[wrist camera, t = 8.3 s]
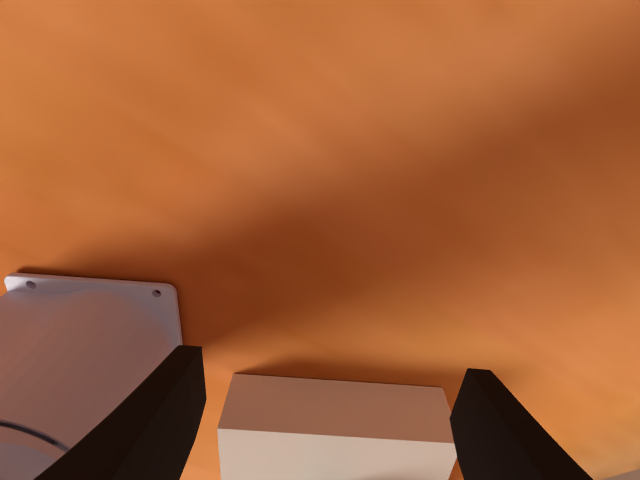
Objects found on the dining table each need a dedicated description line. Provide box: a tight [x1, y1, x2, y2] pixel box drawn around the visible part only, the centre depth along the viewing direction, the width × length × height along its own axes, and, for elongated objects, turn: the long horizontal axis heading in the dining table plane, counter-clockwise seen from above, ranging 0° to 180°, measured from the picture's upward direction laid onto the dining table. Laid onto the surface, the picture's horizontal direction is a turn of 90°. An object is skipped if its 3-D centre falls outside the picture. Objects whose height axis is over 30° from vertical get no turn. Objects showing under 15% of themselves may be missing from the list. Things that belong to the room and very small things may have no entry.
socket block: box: [217, 374, 457, 480], centre depth 26 cm, size 14×14×4 cm
